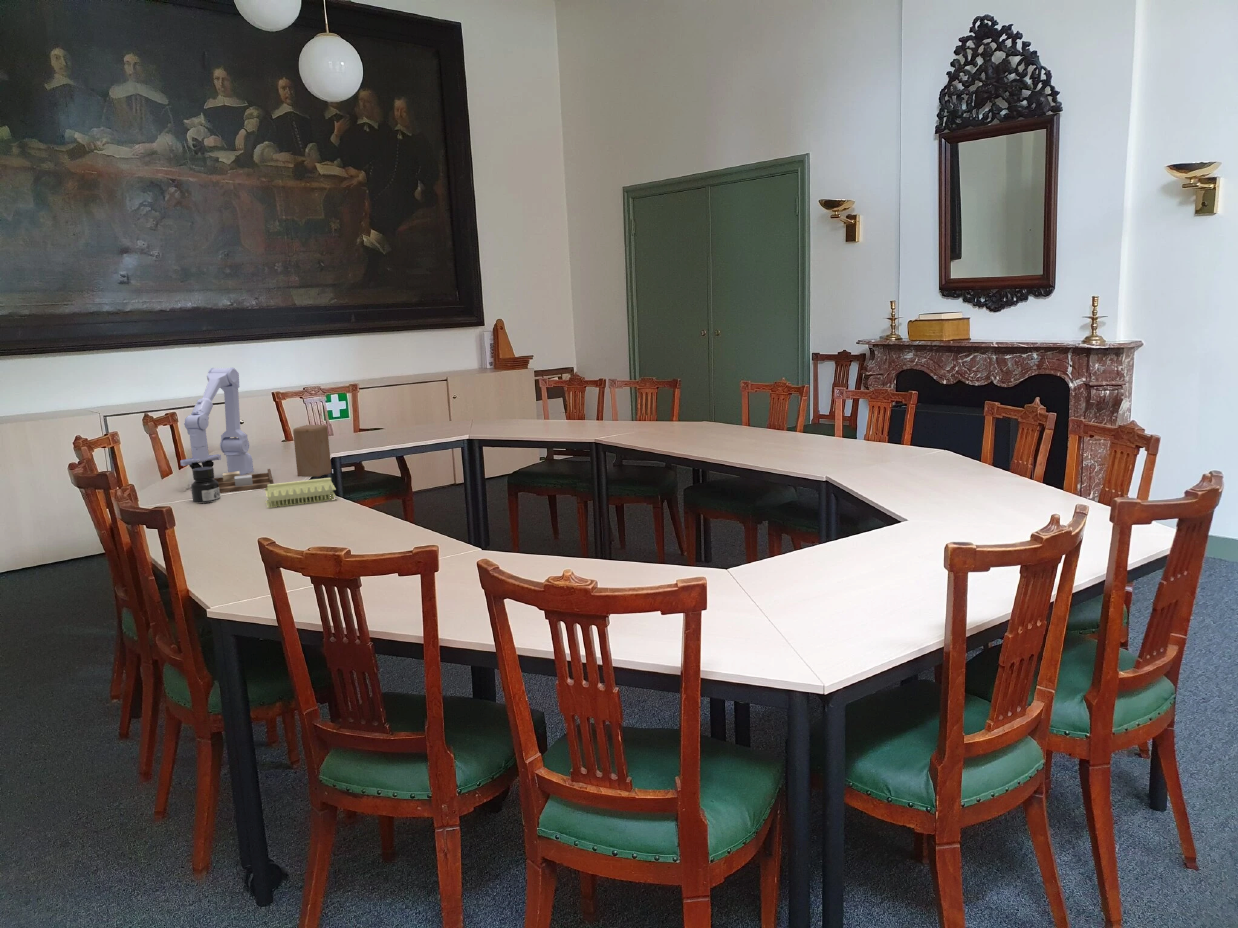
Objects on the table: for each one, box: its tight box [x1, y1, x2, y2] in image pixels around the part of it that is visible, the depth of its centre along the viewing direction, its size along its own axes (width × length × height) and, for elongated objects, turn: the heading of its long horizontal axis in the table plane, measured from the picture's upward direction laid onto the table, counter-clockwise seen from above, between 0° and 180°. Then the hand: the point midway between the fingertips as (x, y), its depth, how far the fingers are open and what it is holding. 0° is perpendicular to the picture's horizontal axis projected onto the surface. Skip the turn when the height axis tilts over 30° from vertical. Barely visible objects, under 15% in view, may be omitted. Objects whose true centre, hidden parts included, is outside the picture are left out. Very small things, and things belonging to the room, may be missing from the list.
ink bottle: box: [190, 466, 221, 505], centre depth 309 cm, size 10×9×12 cm
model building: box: [264, 477, 337, 509], centre depth 308 cm, size 25×14×7 cm, turn 114°
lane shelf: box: [213, 468, 274, 494], centre depth 333 cm, size 24×24×4 cm
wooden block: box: [292, 424, 332, 477], centre depth 348 cm, size 10×10×20 cm
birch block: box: [222, 471, 241, 482], centre depth 334 cm, size 13×5×5 cm, turn 114°
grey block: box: [234, 474, 253, 487], centre depth 328 cm, size 6×5×4 cm
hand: (203, 481), depth 333 cm, fingers closed on birch block, 2 cm apart
